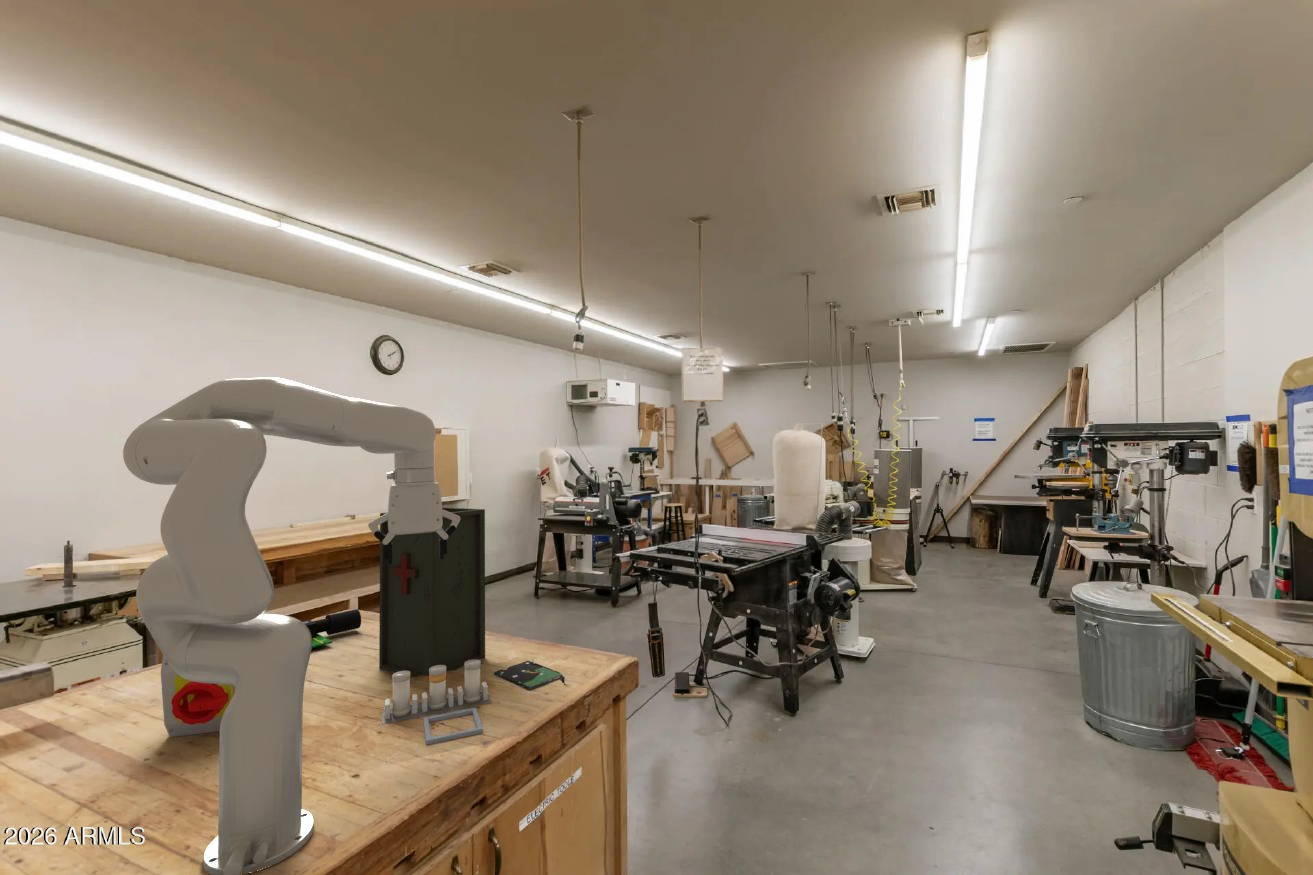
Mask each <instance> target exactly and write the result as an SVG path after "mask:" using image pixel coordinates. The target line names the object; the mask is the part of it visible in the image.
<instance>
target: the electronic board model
mask: <svg viewBox="0 0 1313 875" xmlns="http://www.w3.org/2000/svg"><path fill="white" fill-rule="evenodd" d="M300 621H301V622H303V623H304V624H305V625H306V626H307V628H308V629H309V631H310V634H311V638H312V648H311V649H313V648H317V647H320V646H325V645H329V644H333V641H332V640H331V639H329V638H327V637H326V636H323V635H321V633H326V634H327V635H328V636H331V635H336V634H341V633H344V632H349V631H353V630H356V629H360V627H361V625H362V615H361V611H360V610H359V609H358V608H355V609H354V608H353V609H349V610H345V611H339V612H334V613H331V614H326V616H325V618H322V619H317V620H311V619H306V620H300Z"/></svg>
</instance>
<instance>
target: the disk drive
mask: <svg viewBox="0 0 1313 875" xmlns="http://www.w3.org/2000/svg"><path fill="white" fill-rule="evenodd" d="M493 675H494V676H496V677H498V678H501V679H503V680H505V681H508V682H510V683H512V684H514V685H516V686H519V687H521V688H522V689H524V690H525V689H526V690H527V691H532V690H534V689H538V688H540V687H543V686H545V685H546V684H547V685H549V684H551V683H553V682H556V681H558V680H560V681H561V683H562V684H563V683H564V684H565V681H566V680H565V676H564V675H563V673H561V672H560V671H558V670H554V669H553V668H552V669H551V668H549V667H547V666H544V665H542V664H539V663H536V662H534V661H531V660H526V661H523V662H519V663H517V664H513V665H511V666H508V667H507V668H506V669H504V668H503V669H498V670H495V671H494V672H493Z"/></svg>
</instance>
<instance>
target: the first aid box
mask: <svg viewBox="0 0 1313 875" xmlns="http://www.w3.org/2000/svg"><path fill="white" fill-rule="evenodd" d="M442 509H443V510H446V511H448V512H450V513H453V514H455V515H458V516H460V518H461V519H460V521H459V523H458V525H457V527H456V530H455V531H454V532H453V533H452V534H451V535H450V536H449V537H448V539H447V554H444V559H440V557H439V539H440V535H439V534H438V533H437V532H428V533H416V534H403V535H395V536H394V537H393V539H392V540H391V543H392V547H393V562H392V564H388V560H385V558H384V544H383V543H382V542H381V541H380V540H379V637H378V638H379V645H378V647H379V648H378V649H379V650H378V651H379V652H378V653H379V654H378V656H379V657H378V659H379V661H378V662H379V663H378V664H379V667H378V668H379V670H382V671H386V672H389V673H393V674H394V673H396V672H399V671H410V679H411V678H414V677H415V678H416V677H422V676H426V677H427V676H429V668H431V667H433V666H436V665H445V666H446V673H447V672H452V671H453V672H454V671H457V670H459V669H461V668H464V663H465V662H466V661H468V660H480V659H481V660H483V659H482V658H484V659H486V509H483V508H468V507H467V508H463V507H447V506H446V507H445V506H444V507H443V506H442ZM386 513H388V511H387V512H380V513H379V517H381V516H383V515H384V514H386ZM451 523H452V520H451V519H448V518H446V517H443V525H442V528H443V529H444V530H446V529H447V528H448V527H449V526H450V525H451ZM379 530H380V531H381V532H382V533H383V534H385V535H387V534H388V532H389V530H388V520H387V521H385V522H383V523H381V524H379ZM481 660H480V661H481Z"/></svg>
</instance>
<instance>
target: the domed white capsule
mask: <svg viewBox="0 0 1313 875" xmlns="http://www.w3.org/2000/svg"><path fill="white" fill-rule="evenodd" d="M391 677H392V678H391V680H392V708H393V709H392V716H393V717H402V716H406V715H408V714H409V713H410V705H411V698H410V697H411V695H410V692H411V690H410V688H411V686H410V685H411V678H410V671H399V672H396V673H393V674H391Z"/></svg>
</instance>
